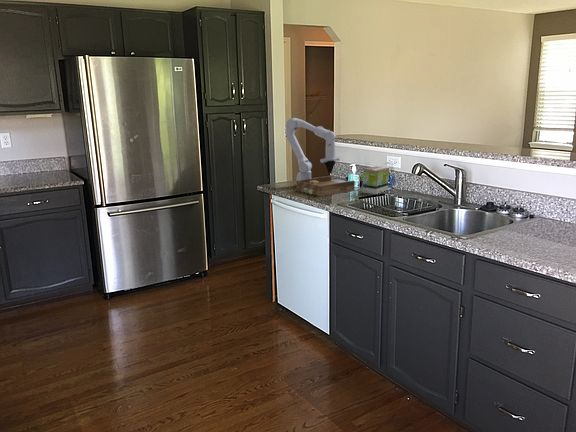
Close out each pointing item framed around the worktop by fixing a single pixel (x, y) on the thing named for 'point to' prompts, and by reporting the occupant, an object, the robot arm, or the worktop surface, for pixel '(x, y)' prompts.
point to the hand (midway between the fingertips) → (329, 172)
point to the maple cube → (314, 182)
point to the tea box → (375, 180)
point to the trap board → (324, 186)
